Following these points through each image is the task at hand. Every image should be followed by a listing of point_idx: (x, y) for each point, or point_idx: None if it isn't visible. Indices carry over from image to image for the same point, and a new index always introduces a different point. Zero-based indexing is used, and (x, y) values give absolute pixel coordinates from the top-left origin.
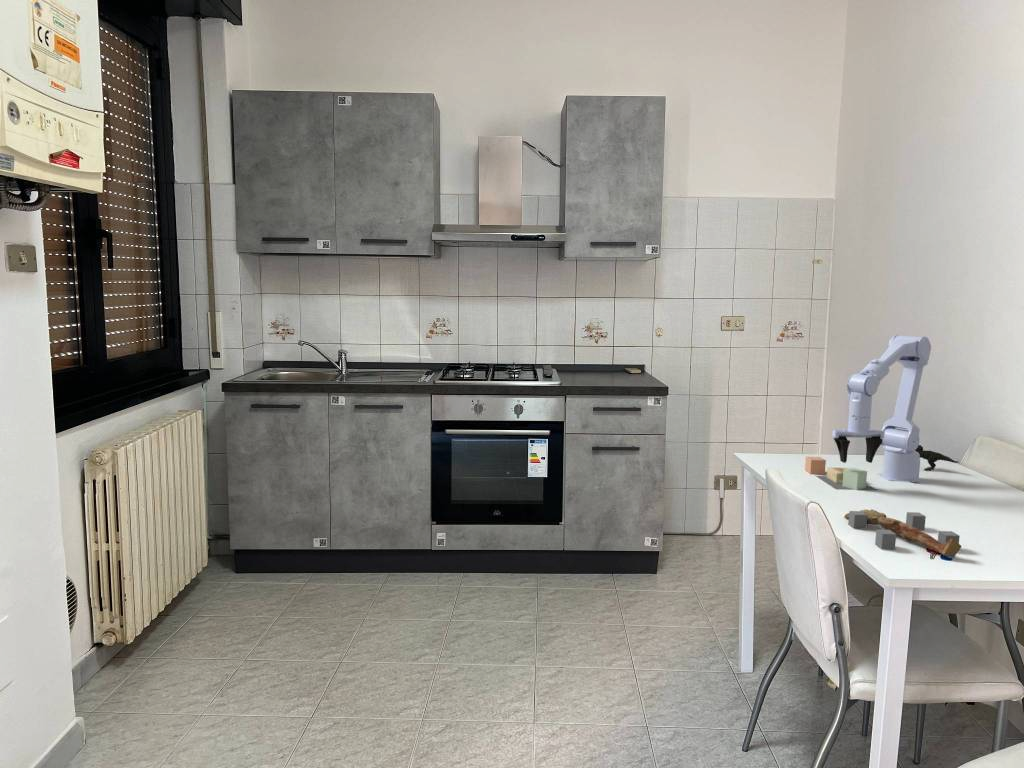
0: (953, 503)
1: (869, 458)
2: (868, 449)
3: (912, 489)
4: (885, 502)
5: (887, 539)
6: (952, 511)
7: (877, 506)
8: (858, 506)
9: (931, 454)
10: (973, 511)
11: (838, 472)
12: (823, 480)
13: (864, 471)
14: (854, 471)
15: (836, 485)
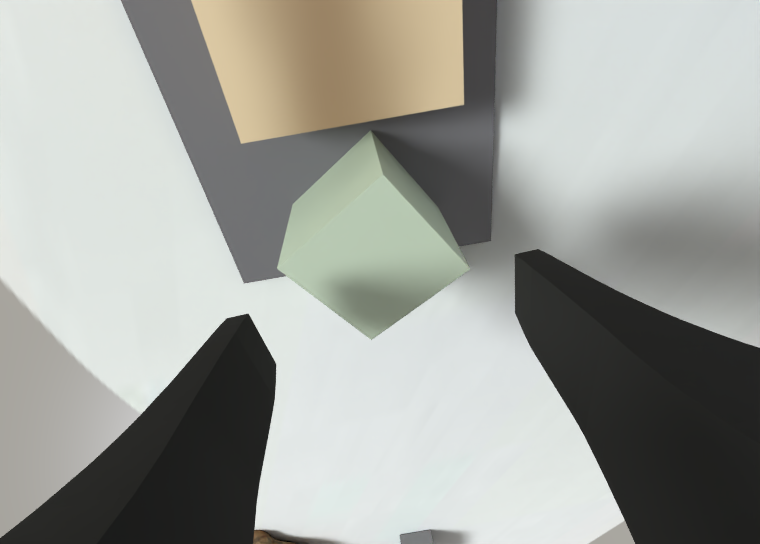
0: (725, 336)
1: (532, 335)
2: (601, 373)
3: (750, 128)
4: (438, 390)
5: None
6: None
7: (385, 435)
8: (314, 450)
9: None
10: None
11: (258, 110)
12: (154, 55)
13: (440, 288)
14: (357, 308)
15: (254, 198)
